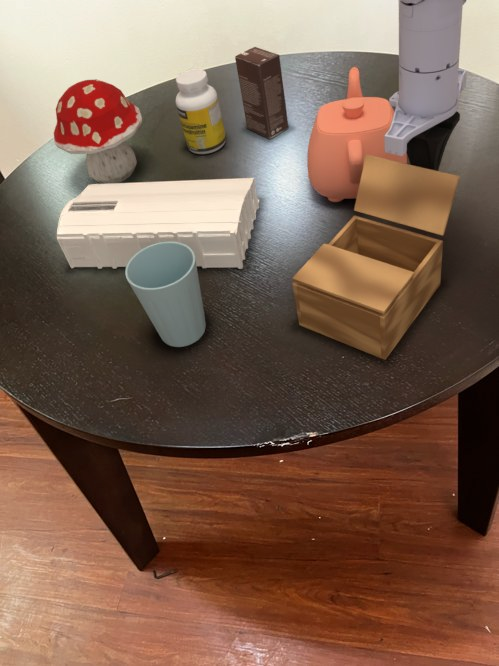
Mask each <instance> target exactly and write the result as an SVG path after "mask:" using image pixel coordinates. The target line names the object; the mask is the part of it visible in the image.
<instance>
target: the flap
mask: <svg viewBox="0 0 499 666" xmlns="http://www.w3.org/2000/svg"><path fill="white" fill-rule="evenodd" d="M460 178H461V177H460V175H458V174H453V173H448V172H446V171H445V172H444V171H441V170H438V171H436V170H432V169H427V168H423V167H419V166H414V165H410V163H409V164H408V163H407V164H405V163H401V162H397V161H392V160H388V159H384V158H379V157H375V156H371V155H366V157H365V161H364V166H363V171H362V175H361V180H360V185H359V189H358V194H357V198H355V203H354V208H353V211H354V212H358V213H362V214H364V215H368V216H373V217H374V218H375V217H376V218H379V219H382V220H386V221H389V222H393V223H395V224H401V225H403V226H406V227H411V228H415V229H417V230H421V231H423V232H424V231H425V232H428V233H432V234H436V235H438V236H444V235H445V232H446V228H447V225H448V221H449V218H450V213H451V210H452V206H453V203H454V199H455V196H456V192H457V188H458V185H459V181H460Z"/></svg>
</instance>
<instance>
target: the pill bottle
mask: <svg viewBox="0 0 499 666" xmlns="http://www.w3.org/2000/svg"><path fill="white" fill-rule="evenodd" d="M175 82H176V88H177V89H178V92H177V94H176V96H175V106H176V109H177V114H178V118H179V121H180V125H181V129H182V133H183V136H184V139H185V140H184V141H185V144H186V147H187V149H188V150H189V151H190V152H191V153H192V154H197V155H208V154H212V153H215V152H217V151H219V150H220V149H221V148H223V146H225V143H226V142H227V135H226V130H225V126H224V121H223V116H222V110H221V106H220V102H219V97H218V93H217V91H216V89H215V88H214V87H213V86H211V85H210V84H209V78H208V74H207V72H206V70H205V69H201V68H192V69H191V68H190V69H187V70H184V71H182V72H180V73H179V74H178V75H177V76H176V77H175Z"/></svg>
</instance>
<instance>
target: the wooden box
mask: <svg viewBox="0 0 499 666" xmlns="http://www.w3.org/2000/svg"><path fill="white" fill-rule="evenodd" d="M443 245H444V241H443V240H442V239H438V238H435V237H431V236H427V235H424V234H421V233H418V232H414V231H410V230H407V229H403V228H400V227H396V226H393V225H390V224H387V223H382V222H379V221H375V220H371V219H368V218H365V217H362V216H358V215H353V216H352V217H351V218H350V220H349V221H348V222H347V223H346V224H345V225H344V226H343V228H341V229H340V231H339V232H337V234H336V235H334V237H333V239H331V241H329V243H323V244H322V245H321V246H320V247H319V248H318V249H317V250H316V251H315V253H314V254H312V256H311V257H310V258H309V259H308V260H307V261H306V262H305V264H304V265H303V266H302V267H301V268H300V269H299V270H298V271H297V273H295V274H294V276H293V277H292V278H291V279H292V282H293V283H292V290H293V295H294V297H293V298H294V302H295V308H296V309H295V310H296V313H297V320H298V326H301V327H302V328H305V329H308V330H310V331H312V332H315V333H317V334H320V335H322V336H325V337H327V338H330V339H332V340H335V341H337V342H339V343H342V344H345V345H346V346H349V347H351V348H354V349H357V350H359V351H361V352H364V353H367V354H369V355H372V356H373V357H375V358H379V359H381V360H384V361H386V360H387V359H388V357H389V356H390V354H391V353H392V352H393V350H394V349H395V348H396V346H397V345H398V344H399V342H400V341H401V339H402V338H403V336H404V335H405V334H406V332H407V331H408V330H409V328H410V327H411V326H412V325H413V323H414V322H415V320H416V319H417V317H418V316H419V314H420V313H421V312H422V311H423V309H424V308H425V307H426V305H427V304H428V302H429V301H430V299H431V298H432V297H433V295H434V294H435V293H436V291H437V290H438V288H439V287H440V286H441V282H442V281H441V279H442V264H443V248H444V247H443Z"/></svg>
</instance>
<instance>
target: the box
mask: <svg viewBox="0 0 499 666" xmlns="http://www.w3.org/2000/svg"><path fill="white" fill-rule="evenodd" d="M234 59H235V64H236V71H237V76H238V82H239V89H240V94H241V100H242V106H243V111H244V117H245V123H246V129H248V130H250V131H252V132H254V133H257V134H259V135H261V136H263V137H265V138H267V139H268V140H269V139H274V138H275V137H276V136H278V135H280V134H281V133H283V132H285V131H286V130H288V129H289V120H288V111H287V104H286V96H285V89H284V88H285V87H284V82H283V74H282V65H281V57H280V54H278V53H275V52H272V51H269V50H266V49H264V48H261V47H258V46H254V47H251V48H249V49H247V50H245V51H242V52H240V53H238V54H237V55H235V56H234Z"/></svg>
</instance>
